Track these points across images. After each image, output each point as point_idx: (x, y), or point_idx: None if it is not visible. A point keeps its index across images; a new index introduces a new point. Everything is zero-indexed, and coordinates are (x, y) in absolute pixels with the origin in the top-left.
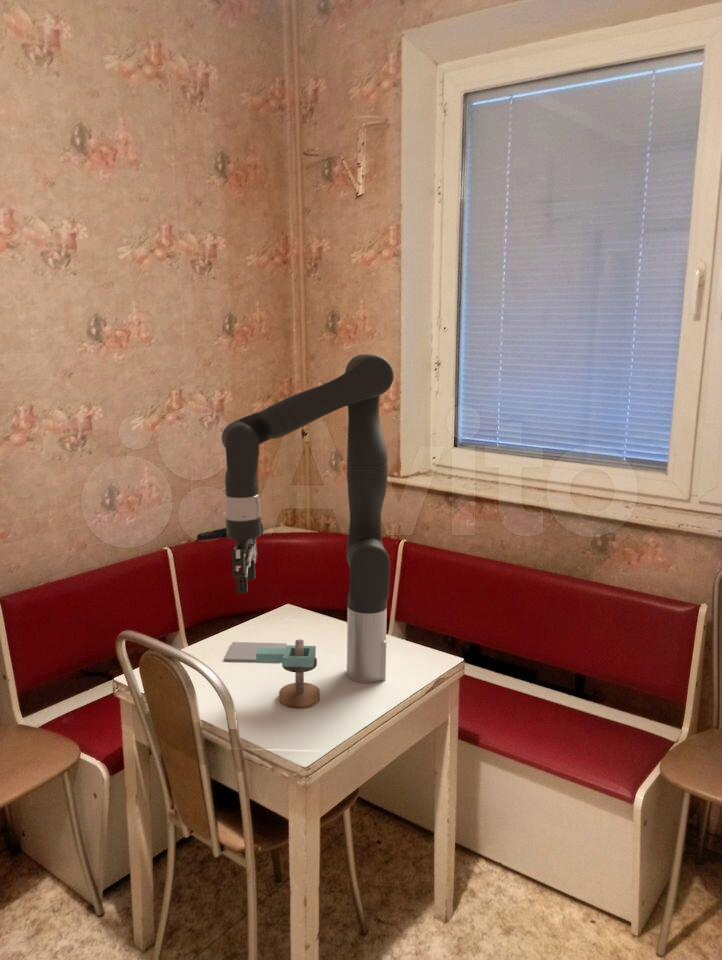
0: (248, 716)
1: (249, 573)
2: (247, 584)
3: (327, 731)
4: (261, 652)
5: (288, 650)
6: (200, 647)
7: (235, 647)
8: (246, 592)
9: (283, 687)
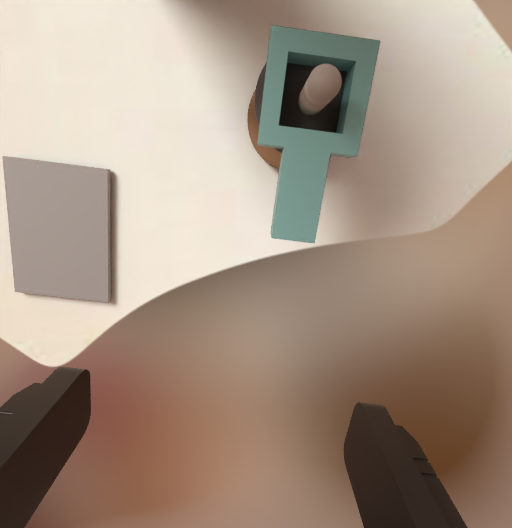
0: (354, 234)
1: (55, 443)
2: (385, 450)
3: (447, 56)
4: (307, 227)
5: (300, 135)
6: (43, 354)
7: (45, 283)
8: (384, 409)
9: (270, 161)
